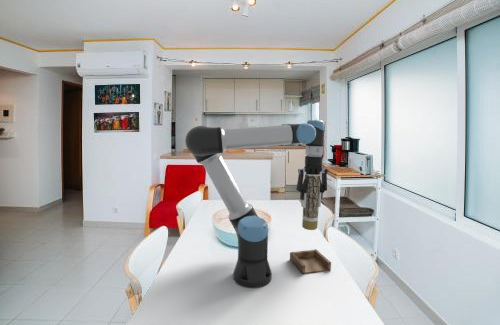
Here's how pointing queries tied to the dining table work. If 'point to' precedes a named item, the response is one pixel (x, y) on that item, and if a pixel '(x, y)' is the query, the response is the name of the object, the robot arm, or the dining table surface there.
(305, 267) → the wooden tray
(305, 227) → the paper tube
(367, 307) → the dining table surface
